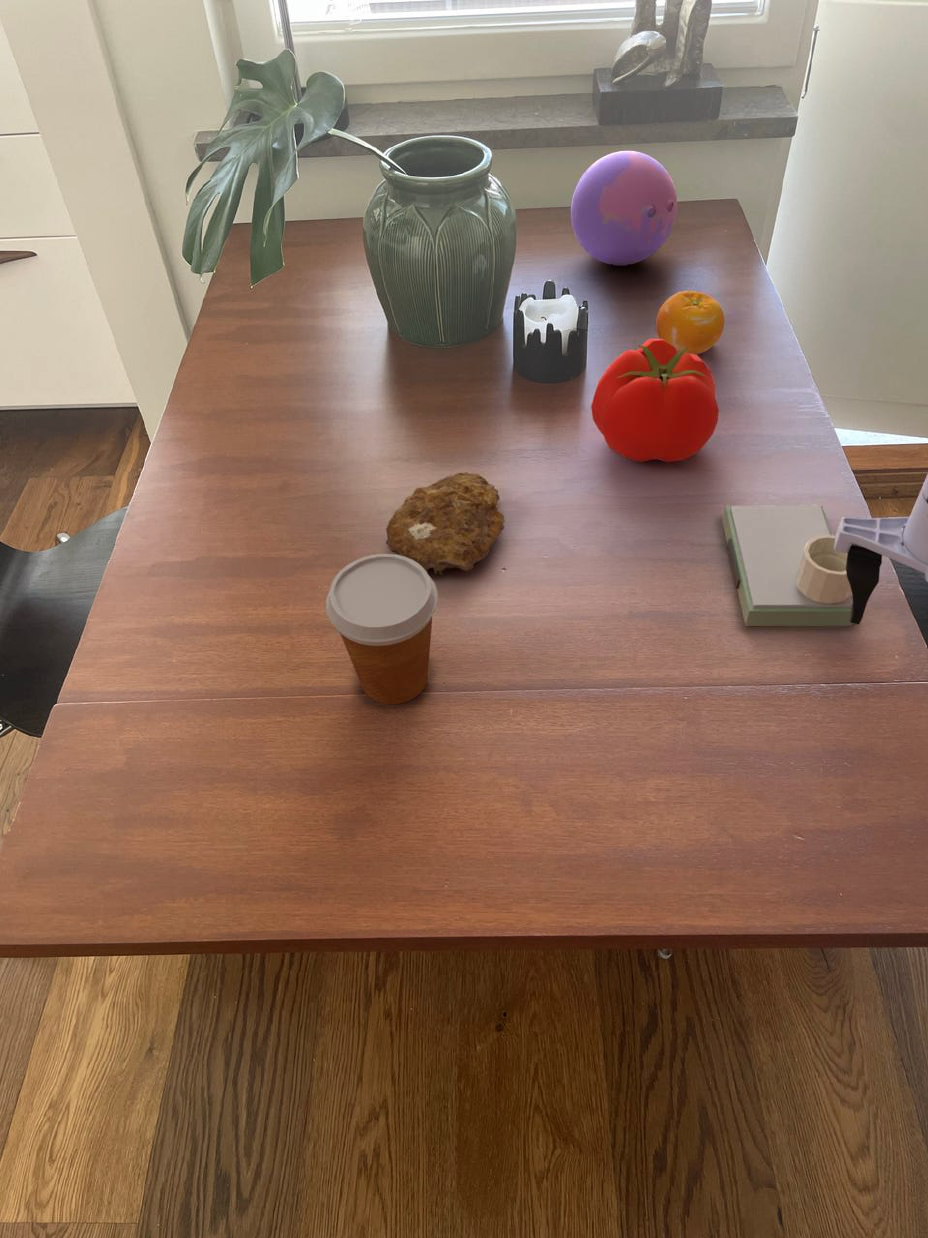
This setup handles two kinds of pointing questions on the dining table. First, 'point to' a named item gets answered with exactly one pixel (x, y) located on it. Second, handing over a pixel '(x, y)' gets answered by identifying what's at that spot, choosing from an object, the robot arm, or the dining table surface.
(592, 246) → the decorative ball
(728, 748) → the dining table surface
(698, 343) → the fruit
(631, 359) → the tomato
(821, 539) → the small beige cup
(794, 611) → the scale
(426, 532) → the decorative rock
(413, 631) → the disposable coffee cup
